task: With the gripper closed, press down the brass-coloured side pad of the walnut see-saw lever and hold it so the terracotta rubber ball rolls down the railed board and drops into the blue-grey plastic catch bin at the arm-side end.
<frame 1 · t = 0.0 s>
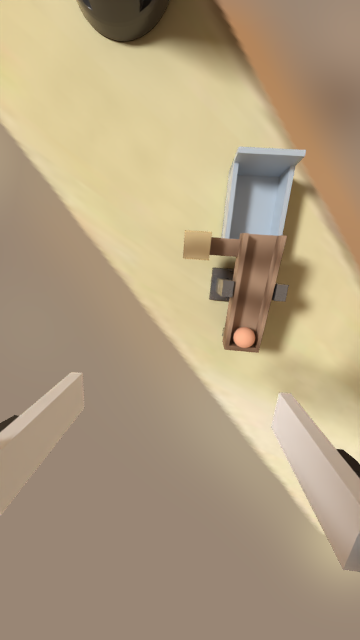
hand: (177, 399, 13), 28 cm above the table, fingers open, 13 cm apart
ball: (242, 329, 33), point 7 cm above the table, tilted 35°, touching lever
bin: (250, 211, 35), on the table
fulcrum: (239, 285, 38), on the table
lever: (224, 295, 31), point 8 cm above the table, hinge at 7.5°, touching ball
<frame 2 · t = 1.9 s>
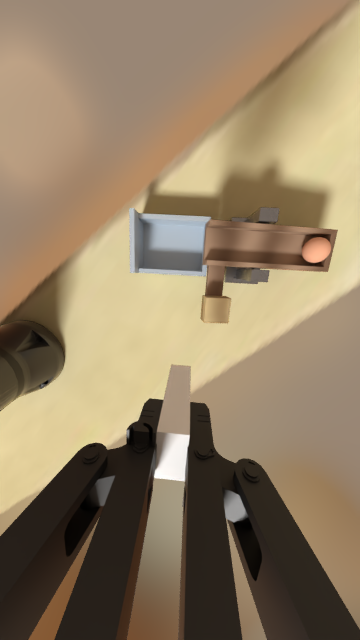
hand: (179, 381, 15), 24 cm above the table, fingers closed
ball: (303, 250, 29), point 7 cm above the table, tilted 35°, touching lever
bin: (173, 248, 36), on the table
fulcrum: (244, 252, 36), on the table
lever: (263, 276, 29), point 8 cm above the table, hinge at 7.5°, touching ball
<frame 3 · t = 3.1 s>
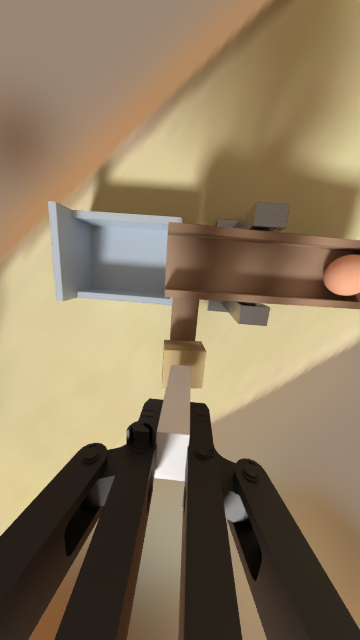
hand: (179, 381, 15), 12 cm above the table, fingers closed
ball: (325, 274, 18), point 7 cm above the table, tilted 35°, touching lever
bin: (134, 261, 25), on the table
fulcrum: (235, 269, 25), on the table
lever: (261, 314, 18), point 8 cm above the table, hinge at 7.5°, touching ball
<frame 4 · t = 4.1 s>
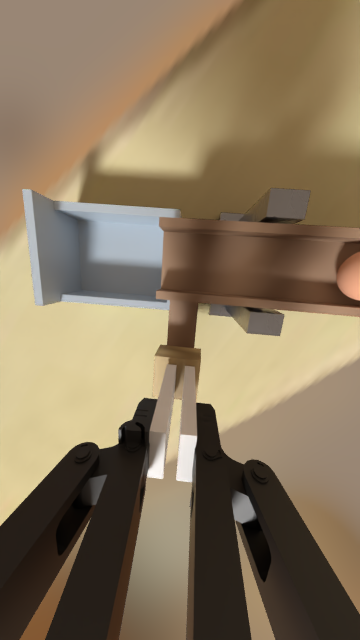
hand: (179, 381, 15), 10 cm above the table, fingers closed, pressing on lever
ball: (357, 275, 15), point 8 cm above the table, tilted 19°, touching lever
bin: (127, 260, 23), on the table
fulcrum: (240, 268, 22), on the table
lever: (270, 321, 15), point 8 cm above the table, hinge at -3.1°, touching ball, gripper
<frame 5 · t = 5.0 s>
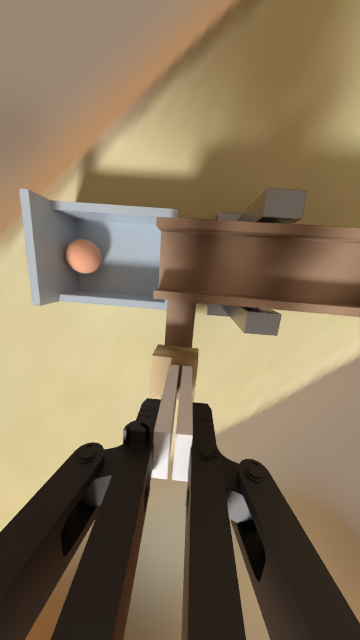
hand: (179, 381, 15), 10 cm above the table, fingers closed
ball: (100, 257, 21), point 2 cm above the table, tilted 87°, touching bin
bin: (125, 260, 23), on the table
fulcrum: (238, 268, 22), on the table
lever: (268, 321, 15), point 8 cm above the table, hinge at -3.3°, touching gripper
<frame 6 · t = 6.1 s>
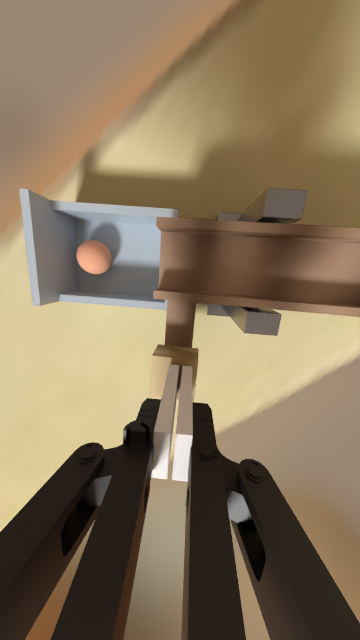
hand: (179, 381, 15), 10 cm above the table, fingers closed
ball: (111, 258, 21), point 1 cm above the table, tilted 58°, touching bin
bin: (125, 260, 23), on the table
fulcrum: (238, 268, 22), on the table
lever: (268, 321, 15), point 8 cm above the table, hinge at -3.3°, touching gripper
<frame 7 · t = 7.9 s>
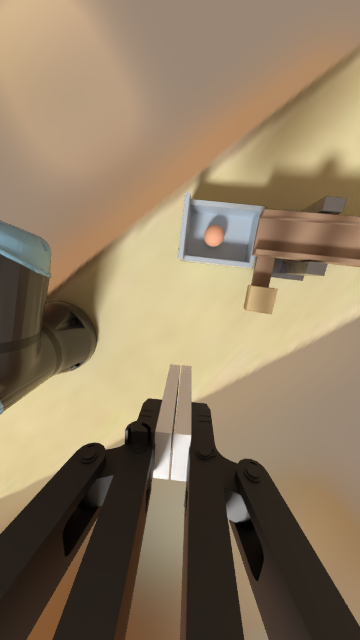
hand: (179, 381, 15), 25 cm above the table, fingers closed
ball: (213, 237, 35), point 1 cm above the table, touching bin
bin: (217, 238, 35), on the table
fulcrum: (291, 246, 35), on the table
lever: (317, 270, 28), point 8 cm above the table, hinge at -3.3°
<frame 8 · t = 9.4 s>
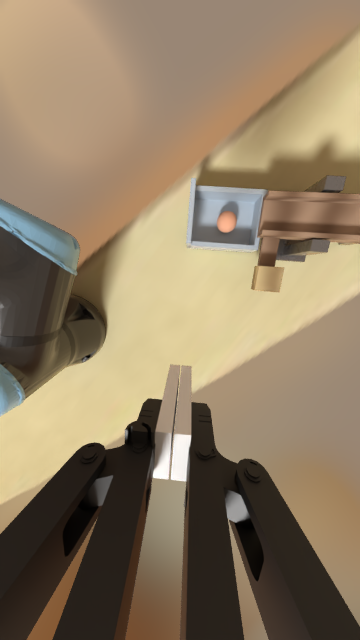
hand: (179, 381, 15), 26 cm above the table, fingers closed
ball: (218, 223, 35), point 1 cm above the table, tilted 46°, touching bin
bin: (221, 224, 37), on the table
fulcrum: (292, 229, 36), on the table
lever: (320, 248, 29), point 8 cm above the table, hinge at -3.3°
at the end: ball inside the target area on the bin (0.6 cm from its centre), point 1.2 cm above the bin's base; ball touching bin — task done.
